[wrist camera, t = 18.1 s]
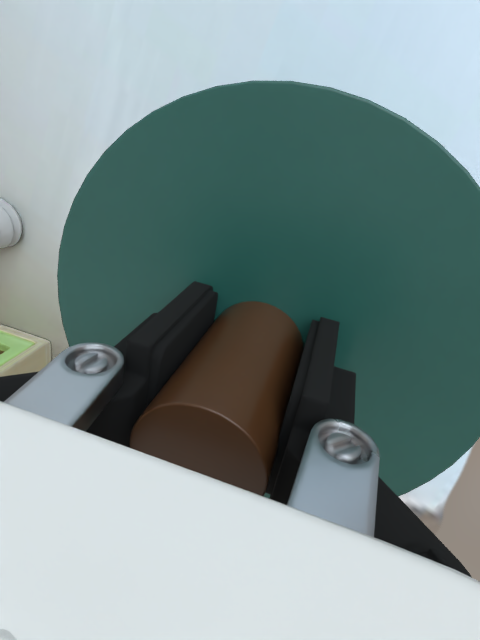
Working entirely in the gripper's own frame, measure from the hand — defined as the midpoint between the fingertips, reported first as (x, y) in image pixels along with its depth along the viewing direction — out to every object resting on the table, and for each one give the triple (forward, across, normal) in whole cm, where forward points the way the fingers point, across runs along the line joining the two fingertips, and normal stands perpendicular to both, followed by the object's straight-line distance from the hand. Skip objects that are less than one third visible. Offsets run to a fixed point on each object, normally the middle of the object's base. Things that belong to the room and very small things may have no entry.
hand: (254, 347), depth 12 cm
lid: (+1, 0, 0) cm, 1 cm away
